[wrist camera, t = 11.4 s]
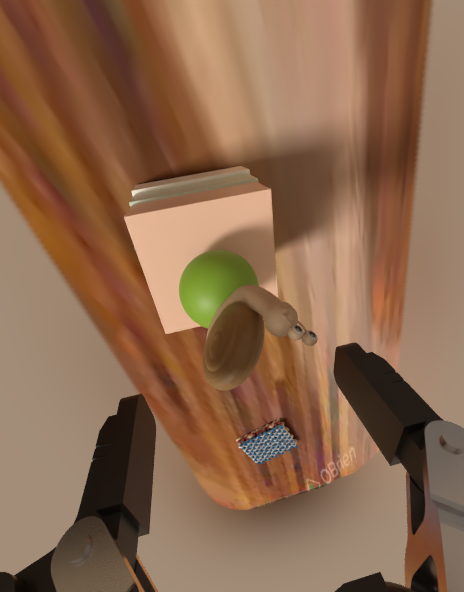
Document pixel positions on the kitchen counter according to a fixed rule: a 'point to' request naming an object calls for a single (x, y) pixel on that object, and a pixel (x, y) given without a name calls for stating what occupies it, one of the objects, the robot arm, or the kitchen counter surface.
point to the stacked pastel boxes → (199, 231)
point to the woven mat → (267, 441)
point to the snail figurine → (234, 315)
